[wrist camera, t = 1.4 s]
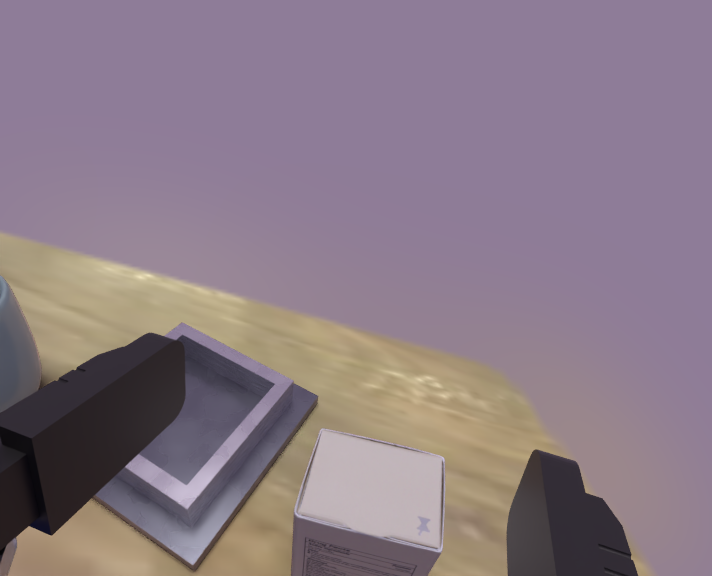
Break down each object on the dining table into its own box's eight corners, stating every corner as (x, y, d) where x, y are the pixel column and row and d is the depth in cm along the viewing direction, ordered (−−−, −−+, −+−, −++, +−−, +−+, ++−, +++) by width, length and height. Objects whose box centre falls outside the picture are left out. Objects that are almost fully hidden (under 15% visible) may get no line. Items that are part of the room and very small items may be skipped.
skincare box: (400, 555, 28) (453, 455, 20) (392, 639, 24) (452, 556, 17) (303, 529, 28) (319, 421, 21) (282, 608, 25) (291, 513, 17)
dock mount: (34, 455, 29) (15, 426, 27) (186, 333, 40) (181, 305, 37) (194, 571, 26) (188, 548, 23) (317, 403, 36) (320, 376, 34)
